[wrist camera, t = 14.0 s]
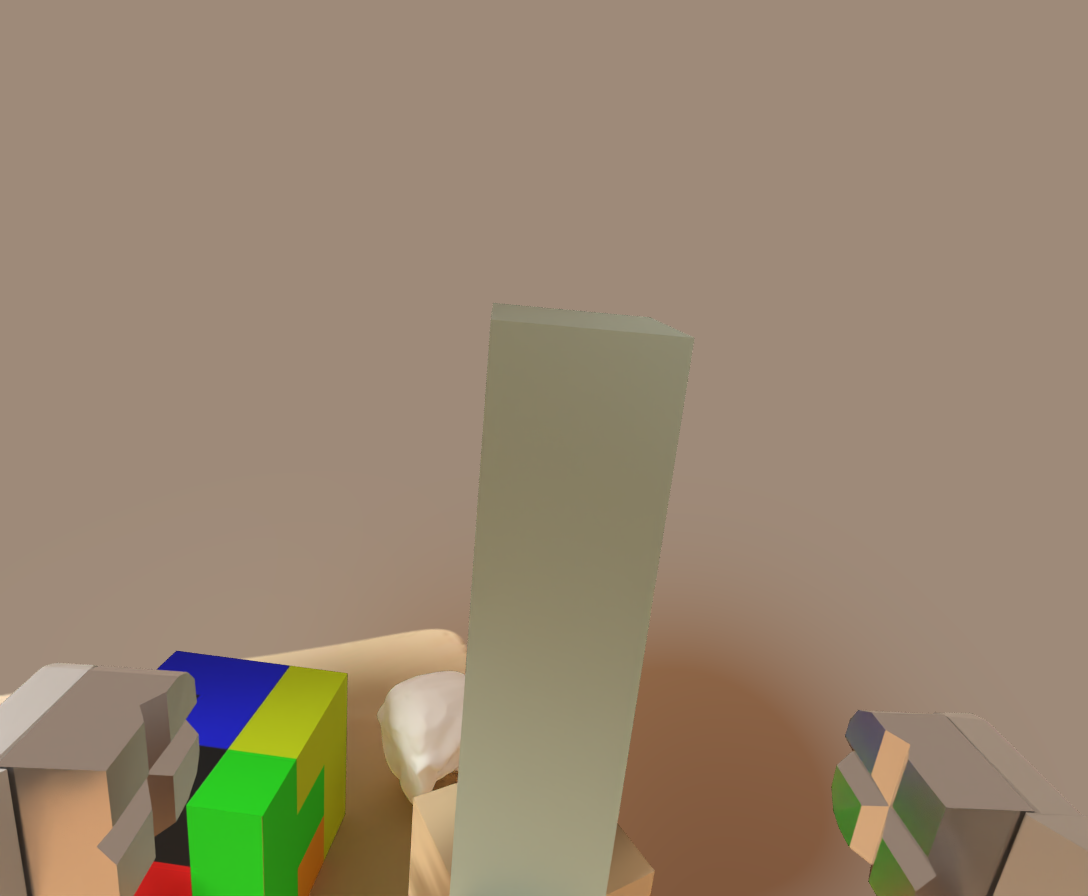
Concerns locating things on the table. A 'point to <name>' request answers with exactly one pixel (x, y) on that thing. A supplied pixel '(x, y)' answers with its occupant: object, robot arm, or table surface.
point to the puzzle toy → (256, 781)
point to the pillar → (561, 591)
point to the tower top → (436, 848)
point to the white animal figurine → (423, 729)
